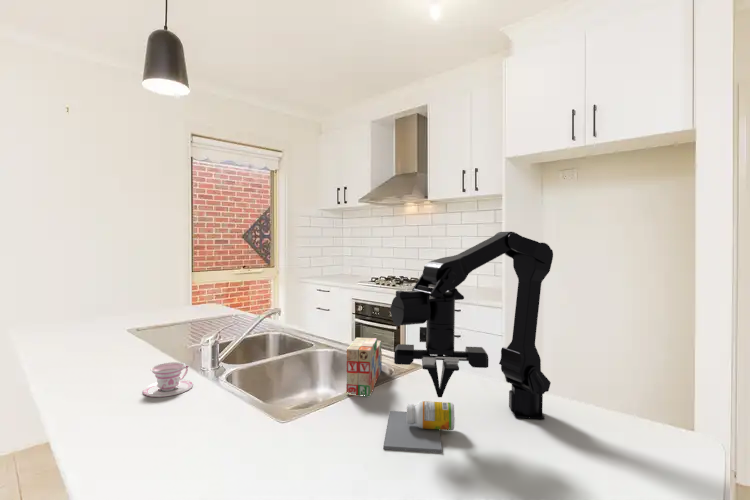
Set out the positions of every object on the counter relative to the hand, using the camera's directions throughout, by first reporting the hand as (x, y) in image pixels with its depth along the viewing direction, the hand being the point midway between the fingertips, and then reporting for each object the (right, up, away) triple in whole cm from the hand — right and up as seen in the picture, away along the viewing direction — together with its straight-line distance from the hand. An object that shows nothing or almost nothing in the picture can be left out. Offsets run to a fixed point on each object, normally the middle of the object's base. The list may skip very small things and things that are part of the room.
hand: (439, 396), depth 84 cm
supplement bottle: (+3, -4, 0) cm, 5 cm away
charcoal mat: (-5, -8, +1) cm, 9 cm away
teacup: (-69, -7, +24) cm, 73 cm away
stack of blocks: (-16, -7, +30) cm, 35 cm away
